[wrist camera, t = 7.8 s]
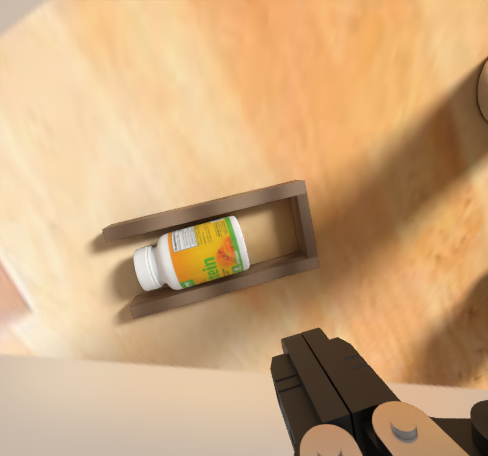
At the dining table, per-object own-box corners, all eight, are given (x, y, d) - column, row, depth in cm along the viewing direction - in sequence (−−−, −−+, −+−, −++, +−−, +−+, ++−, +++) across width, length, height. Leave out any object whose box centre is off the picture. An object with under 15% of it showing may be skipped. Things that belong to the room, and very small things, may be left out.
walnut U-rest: (295, 180, 28) (304, 180, 26) (309, 259, 30) (319, 267, 28) (111, 224, 26) (102, 229, 24) (139, 306, 28) (133, 319, 26)
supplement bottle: (253, 279, 26) (152, 310, 25) (239, 241, 30) (151, 265, 29) (246, 242, 22) (128, 276, 21) (231, 203, 26) (130, 230, 25)
